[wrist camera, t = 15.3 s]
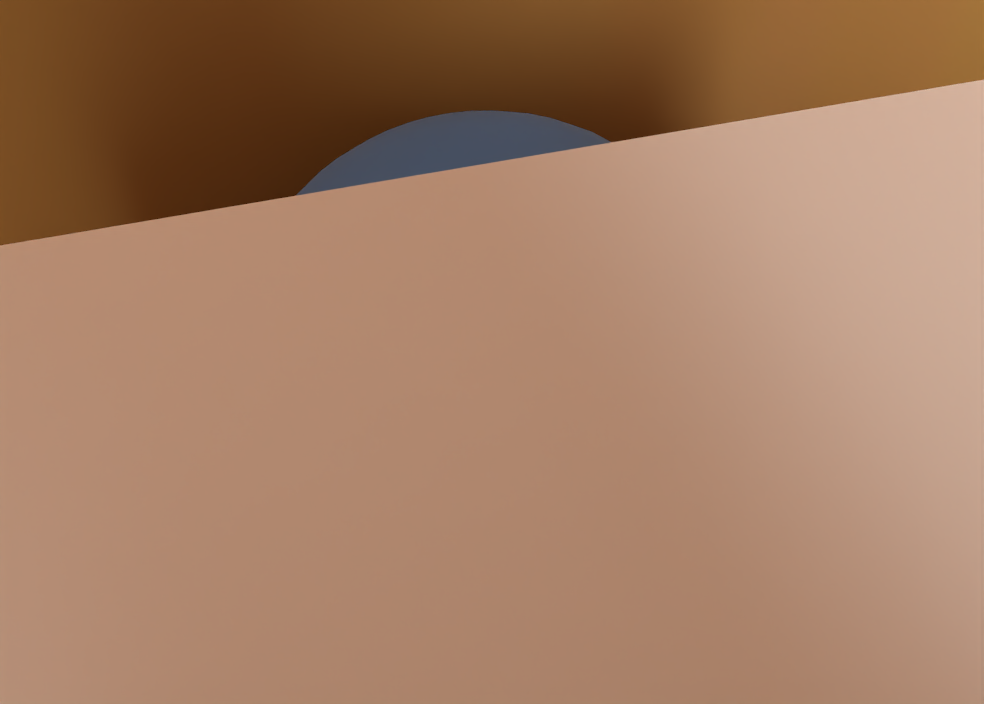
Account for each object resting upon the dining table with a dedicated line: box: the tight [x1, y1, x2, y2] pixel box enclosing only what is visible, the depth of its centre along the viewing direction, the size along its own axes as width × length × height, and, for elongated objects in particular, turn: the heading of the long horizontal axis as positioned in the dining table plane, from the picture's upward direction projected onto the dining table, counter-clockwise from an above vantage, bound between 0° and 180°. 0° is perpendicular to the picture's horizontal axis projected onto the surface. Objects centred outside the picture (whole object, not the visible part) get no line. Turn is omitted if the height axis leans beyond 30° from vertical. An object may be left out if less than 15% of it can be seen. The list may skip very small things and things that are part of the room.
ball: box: [296, 110, 611, 196], centre depth 7 cm, size 5×5×5 cm
